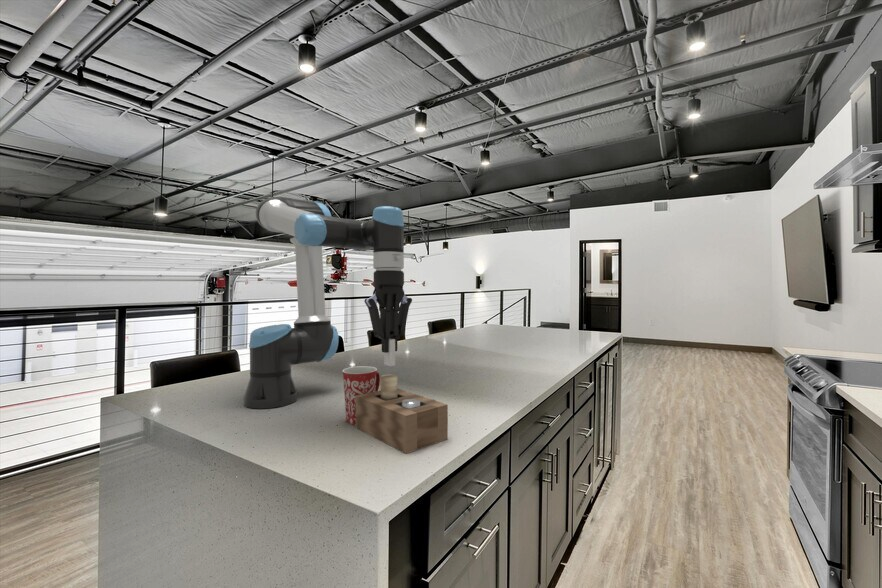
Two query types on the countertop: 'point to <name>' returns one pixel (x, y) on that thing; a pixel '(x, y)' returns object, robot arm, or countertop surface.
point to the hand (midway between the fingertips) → (389, 365)
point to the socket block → (402, 420)
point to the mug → (358, 387)
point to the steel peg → (410, 403)
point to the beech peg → (389, 386)
